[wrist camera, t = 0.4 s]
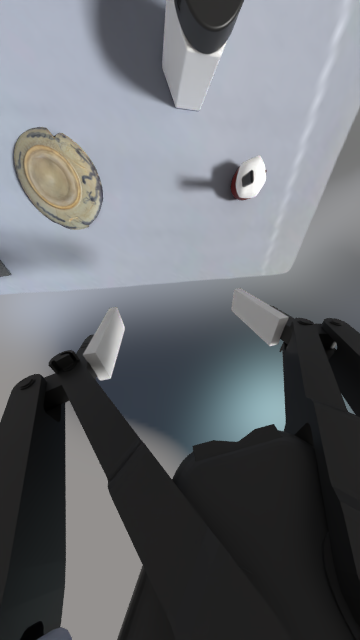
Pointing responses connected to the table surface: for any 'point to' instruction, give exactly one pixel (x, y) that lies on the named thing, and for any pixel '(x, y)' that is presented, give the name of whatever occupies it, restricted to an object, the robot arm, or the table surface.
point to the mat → (4, 270)
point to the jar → (195, 46)
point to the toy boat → (249, 179)
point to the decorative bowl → (58, 178)
